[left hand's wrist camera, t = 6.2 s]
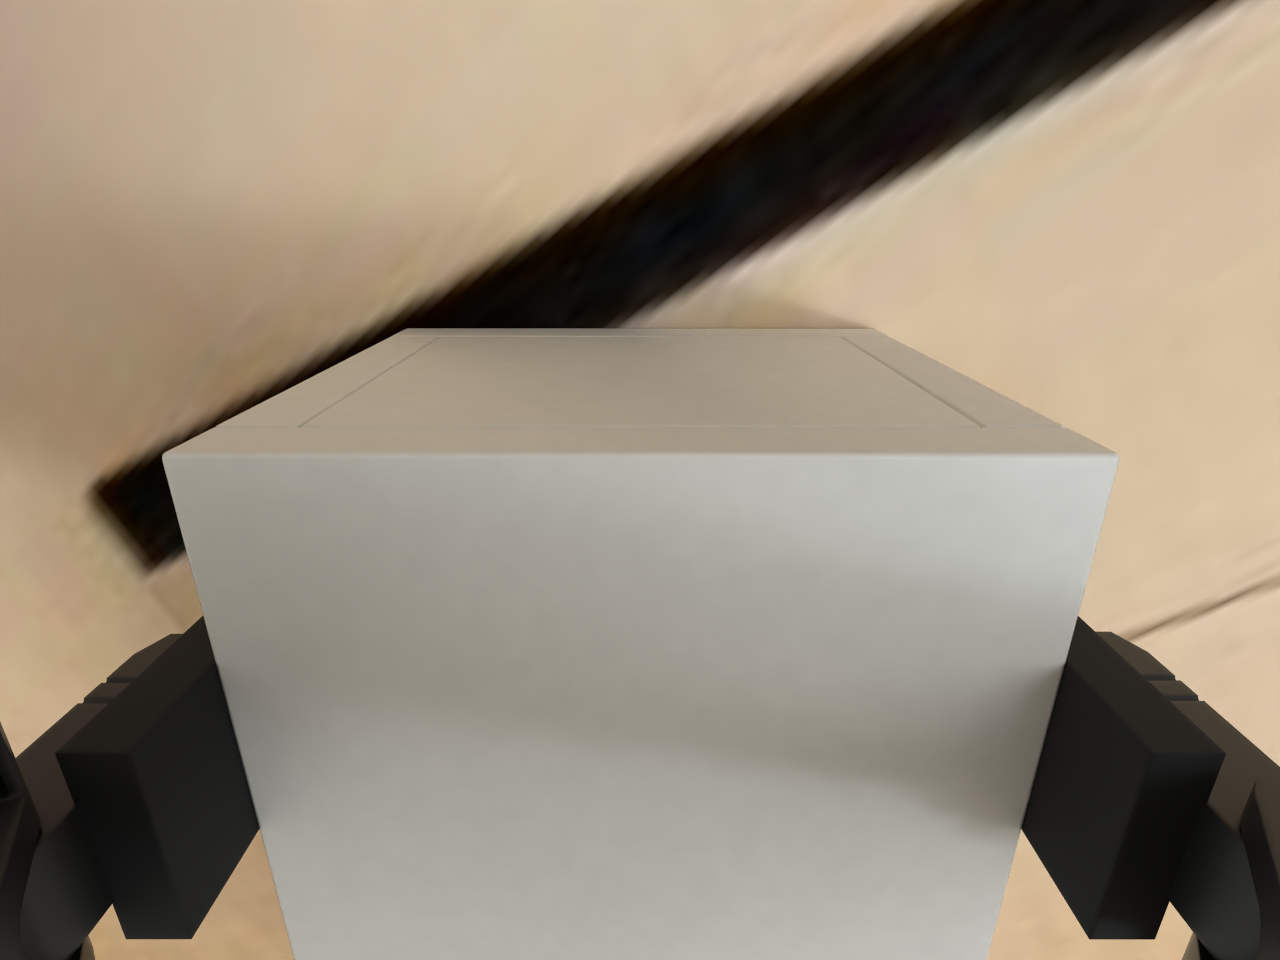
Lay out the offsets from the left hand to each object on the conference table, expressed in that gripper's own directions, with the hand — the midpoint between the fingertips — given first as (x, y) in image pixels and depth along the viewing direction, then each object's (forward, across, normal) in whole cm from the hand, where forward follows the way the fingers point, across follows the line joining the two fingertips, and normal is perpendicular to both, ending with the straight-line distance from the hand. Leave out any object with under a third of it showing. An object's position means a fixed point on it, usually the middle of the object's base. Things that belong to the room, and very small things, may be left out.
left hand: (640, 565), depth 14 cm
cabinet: (+3, 0, -6) cm, 7 cm away
